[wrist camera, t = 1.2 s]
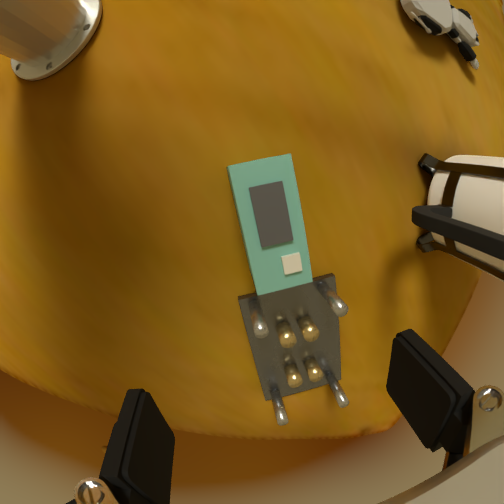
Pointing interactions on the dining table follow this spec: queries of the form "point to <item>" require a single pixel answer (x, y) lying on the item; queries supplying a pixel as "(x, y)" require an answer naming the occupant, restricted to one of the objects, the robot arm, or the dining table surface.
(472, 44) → the robot toy
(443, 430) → the robot arm
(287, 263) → the teal block
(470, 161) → the coffee press
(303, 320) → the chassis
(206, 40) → the dining table surface
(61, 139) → the dining table surface
